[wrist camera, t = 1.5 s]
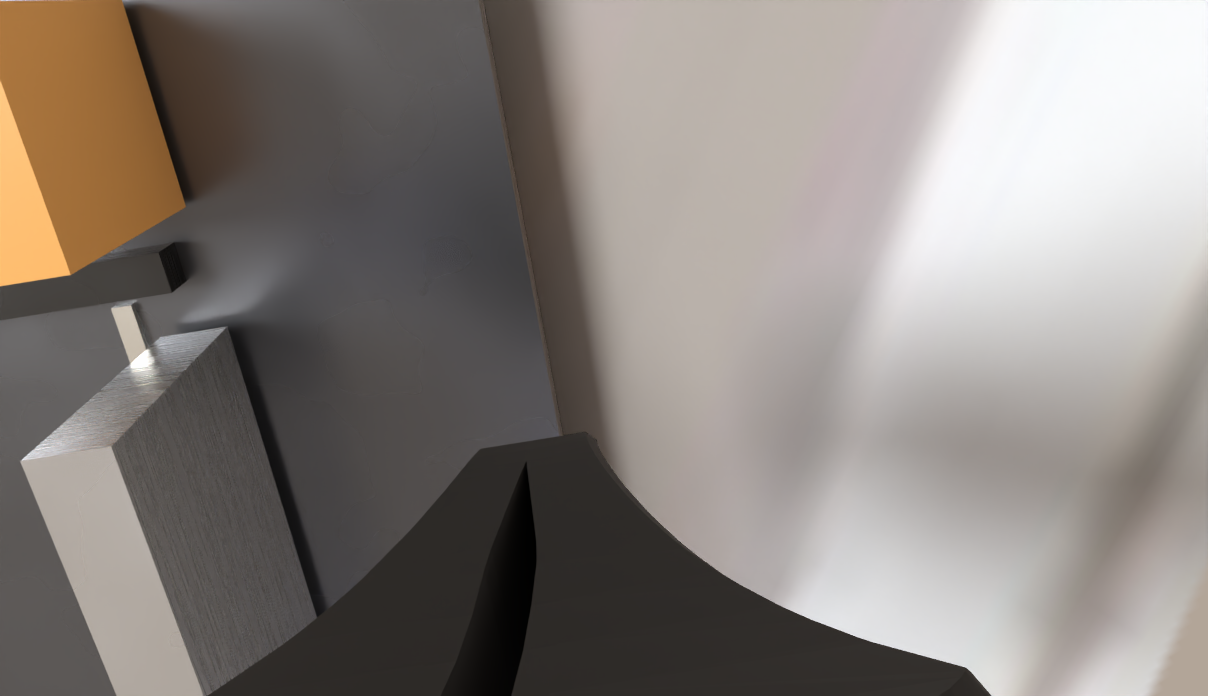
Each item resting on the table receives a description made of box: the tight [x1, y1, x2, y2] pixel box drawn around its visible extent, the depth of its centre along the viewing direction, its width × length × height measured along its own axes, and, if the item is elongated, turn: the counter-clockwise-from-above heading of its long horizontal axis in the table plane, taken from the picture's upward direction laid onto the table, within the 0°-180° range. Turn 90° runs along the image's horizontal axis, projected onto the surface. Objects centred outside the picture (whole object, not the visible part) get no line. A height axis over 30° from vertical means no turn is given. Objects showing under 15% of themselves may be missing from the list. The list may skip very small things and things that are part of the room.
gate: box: [20, 327, 317, 696], centre depth 13 cm, size 7×1×4 cm, turn 9°
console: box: [0, 0, 563, 696], centre depth 14 cm, size 16×16×5 cm
